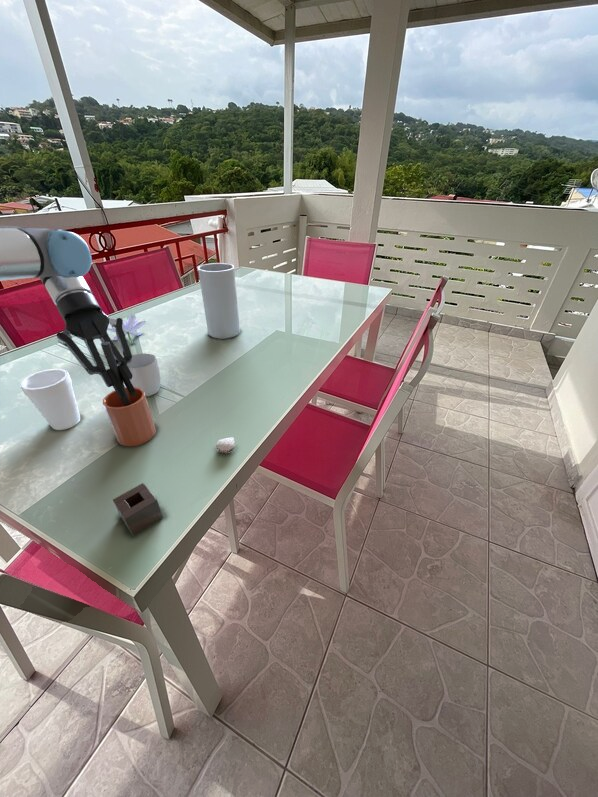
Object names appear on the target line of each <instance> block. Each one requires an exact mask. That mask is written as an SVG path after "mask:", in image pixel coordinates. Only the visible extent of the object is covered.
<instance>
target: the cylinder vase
mask: <svg viewBox="0 0 598 797" xmlns="http://www.w3.org/2000/svg"><path fill="white" fill-rule="evenodd" d="M197 271H198V278H199V284H200V290H201V297H202V304H203V309H204V316H205V322H206V329H207V334H208V335H209V336H210V337H211V338H214V339H221V340H225V339H231V338H234V337H237V336H238V335H239V334H240V332H241V326H240V315H239V306H238V294H237V285H236V274H235V266H234V265H233V264H231V263H225V262H213V263H205V264H201V265H199V266H198V267H197Z"/></svg>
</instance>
